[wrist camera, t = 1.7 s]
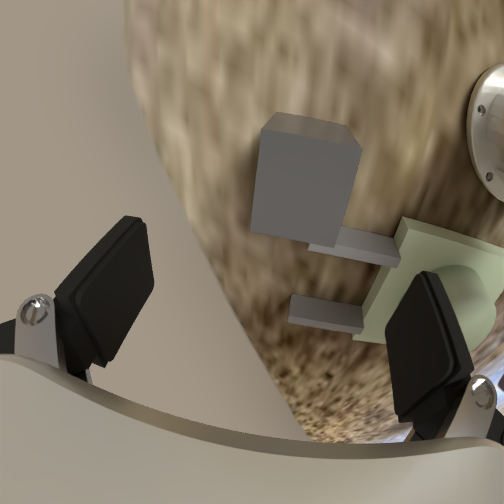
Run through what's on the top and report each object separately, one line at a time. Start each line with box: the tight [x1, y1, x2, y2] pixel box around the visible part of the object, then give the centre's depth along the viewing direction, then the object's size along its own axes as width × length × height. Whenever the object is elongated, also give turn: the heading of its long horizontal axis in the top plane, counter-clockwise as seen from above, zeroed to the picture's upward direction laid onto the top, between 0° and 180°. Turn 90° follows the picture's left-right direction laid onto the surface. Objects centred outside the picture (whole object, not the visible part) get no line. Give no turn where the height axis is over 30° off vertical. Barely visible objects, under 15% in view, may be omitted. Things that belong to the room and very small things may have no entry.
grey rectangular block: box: [250, 112, 362, 248], centre depth 17 cm, size 5×6×7 cm
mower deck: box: [287, 216, 504, 352], centre depth 22 cm, size 22×14×6 cm, turn 84°
